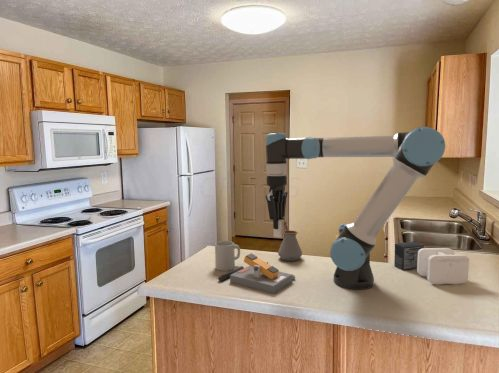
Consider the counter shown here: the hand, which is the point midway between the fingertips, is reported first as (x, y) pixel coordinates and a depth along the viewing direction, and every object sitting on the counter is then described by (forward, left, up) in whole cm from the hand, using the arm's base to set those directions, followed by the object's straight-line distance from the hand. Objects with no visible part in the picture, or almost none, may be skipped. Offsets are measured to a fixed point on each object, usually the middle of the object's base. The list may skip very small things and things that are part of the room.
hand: (277, 236), depth 138 cm
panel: (+7, +2, -19) cm, 20 cm away
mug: (+29, -5, -19) cm, 35 cm away
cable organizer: (-51, -40, -19) cm, 68 cm away
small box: (-37, -49, -19) cm, 64 cm away
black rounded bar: (+21, +2, -19) cm, 28 cm away
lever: (+7, +1, -14) cm, 15 cm away
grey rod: (+6, -8, -19) cm, 21 cm away
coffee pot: (+15, -34, -19) cm, 42 cm away
